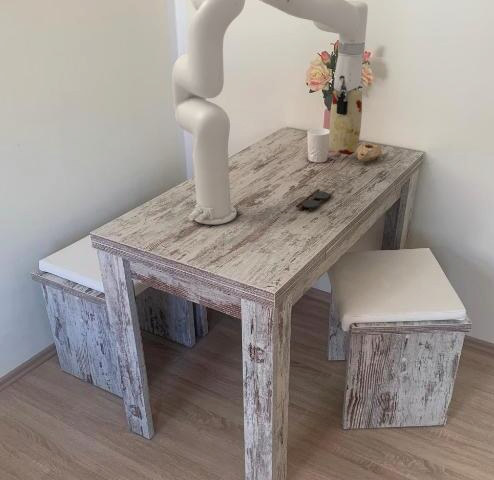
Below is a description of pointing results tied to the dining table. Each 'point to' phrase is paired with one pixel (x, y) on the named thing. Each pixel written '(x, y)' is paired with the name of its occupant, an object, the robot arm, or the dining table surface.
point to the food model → (345, 124)
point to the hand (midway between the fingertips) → (346, 110)
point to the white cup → (318, 144)
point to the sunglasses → (313, 200)
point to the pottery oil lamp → (368, 152)
